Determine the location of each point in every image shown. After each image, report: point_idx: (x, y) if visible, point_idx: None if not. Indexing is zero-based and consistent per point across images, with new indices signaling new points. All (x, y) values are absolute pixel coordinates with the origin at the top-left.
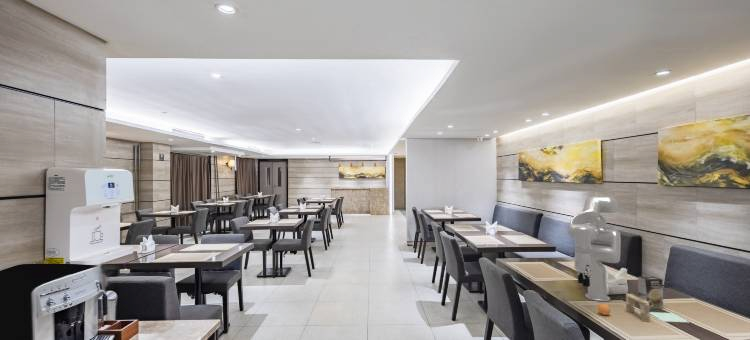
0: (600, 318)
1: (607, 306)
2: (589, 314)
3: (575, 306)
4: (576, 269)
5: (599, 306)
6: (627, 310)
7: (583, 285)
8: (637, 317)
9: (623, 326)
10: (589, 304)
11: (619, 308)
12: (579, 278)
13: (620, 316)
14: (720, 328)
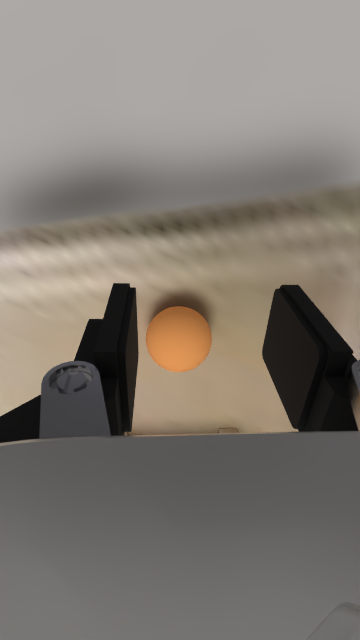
0: (112, 276)
1: (160, 363)
2: (173, 242)
3: (322, 216)
4: None
5: (176, 325)
6: (228, 431)
7: (113, 288)
8: (156, 431)
9: (15, 336)
10: (341, 317)
11: (267, 416)
12: (299, 334)
13: (160, 379)
14: None
